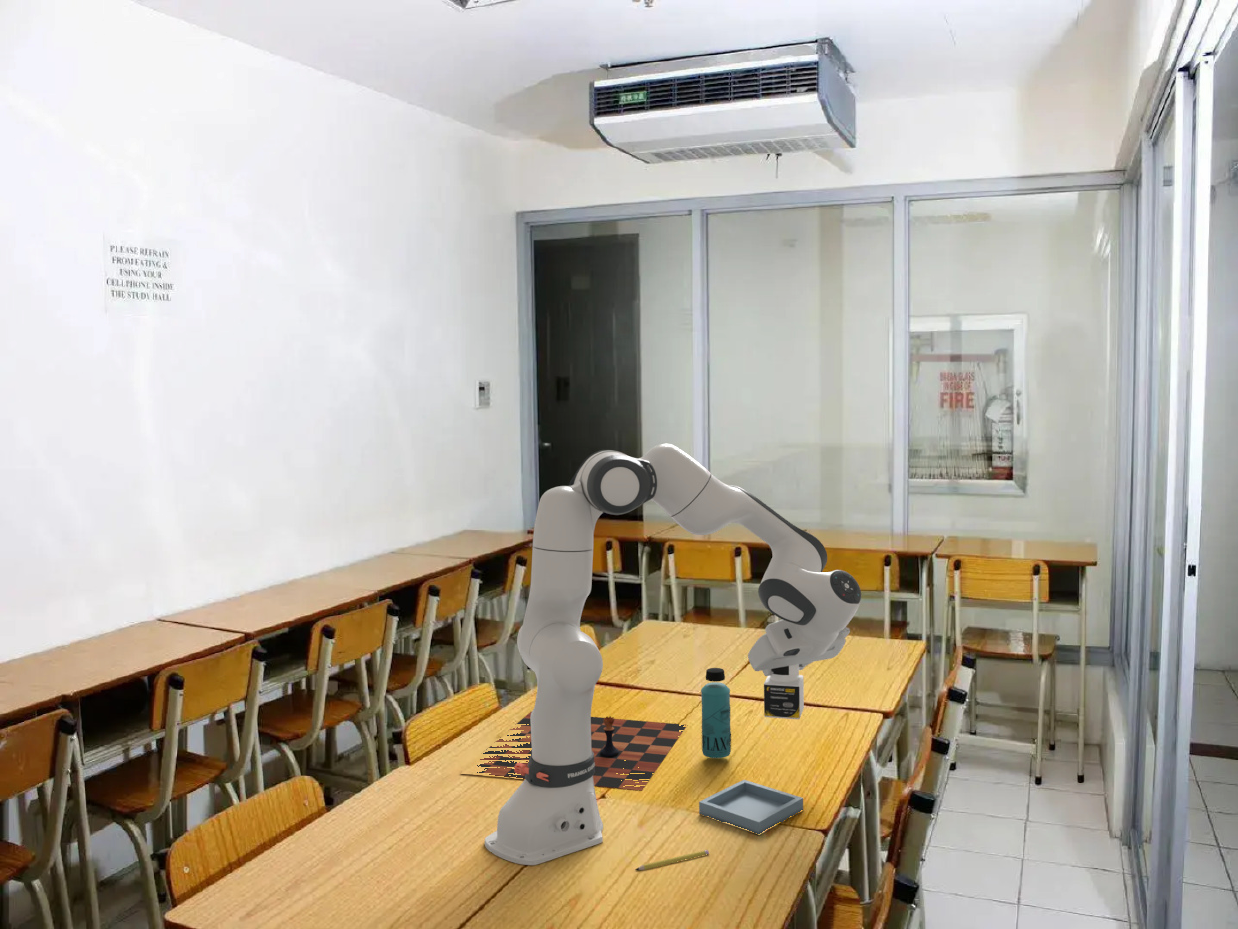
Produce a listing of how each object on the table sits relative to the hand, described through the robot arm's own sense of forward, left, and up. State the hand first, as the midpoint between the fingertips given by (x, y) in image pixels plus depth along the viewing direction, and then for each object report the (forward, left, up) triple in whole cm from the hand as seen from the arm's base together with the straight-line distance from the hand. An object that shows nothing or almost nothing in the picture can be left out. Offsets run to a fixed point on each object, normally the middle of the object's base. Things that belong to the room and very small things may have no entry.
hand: (781, 670), depth 212 cm
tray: (-17, -4, -23) cm, 29 cm away
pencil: (-42, -6, -24) cm, 48 cm away
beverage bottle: (0, +18, -23) cm, 29 cm away
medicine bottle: (0, -1, -9) cm, 9 cm away
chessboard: (-14, +46, -24) cm, 53 cm away
